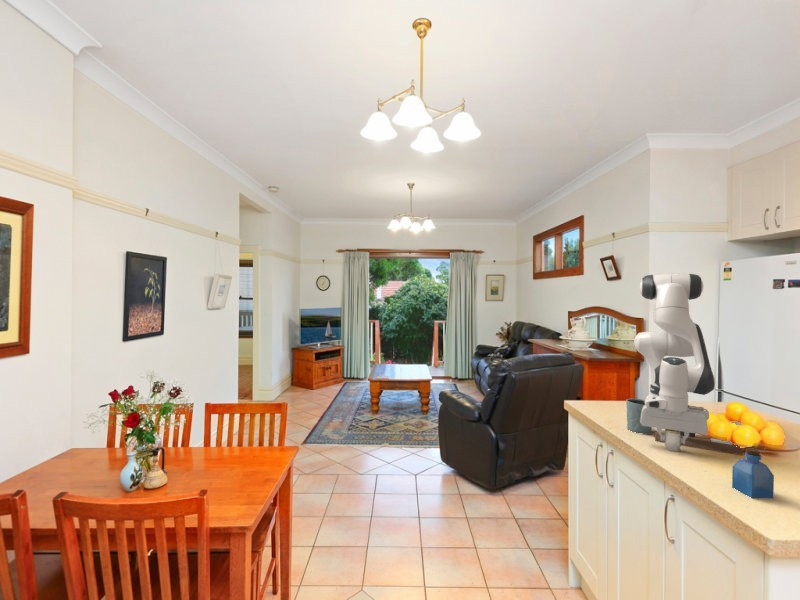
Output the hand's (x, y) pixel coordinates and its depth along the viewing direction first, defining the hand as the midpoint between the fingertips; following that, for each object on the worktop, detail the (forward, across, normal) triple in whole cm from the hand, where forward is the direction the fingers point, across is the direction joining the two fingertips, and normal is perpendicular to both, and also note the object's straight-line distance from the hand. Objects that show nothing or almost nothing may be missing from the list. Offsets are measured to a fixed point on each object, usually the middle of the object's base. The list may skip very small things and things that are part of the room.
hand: (672, 442), depth 148 cm
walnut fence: (+3, -8, -8) cm, 12 cm away
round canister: (+3, 0, 0) cm, 3 cm away
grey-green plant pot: (+3, +10, -18) cm, 21 cm away
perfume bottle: (+3, -17, +28) cm, 33 cm away
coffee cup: (+3, -6, -21) cm, 22 cm away
